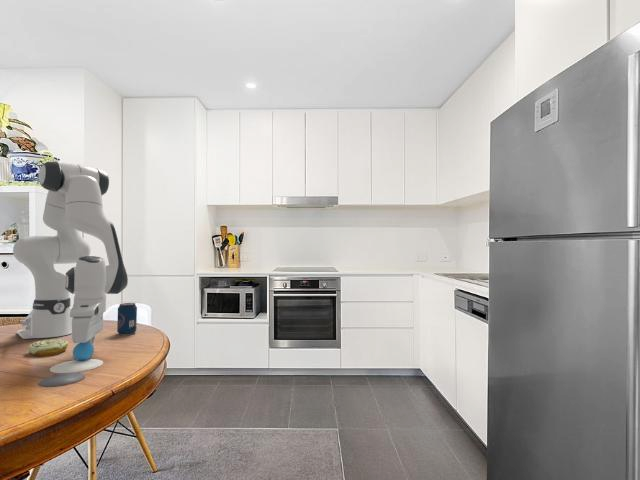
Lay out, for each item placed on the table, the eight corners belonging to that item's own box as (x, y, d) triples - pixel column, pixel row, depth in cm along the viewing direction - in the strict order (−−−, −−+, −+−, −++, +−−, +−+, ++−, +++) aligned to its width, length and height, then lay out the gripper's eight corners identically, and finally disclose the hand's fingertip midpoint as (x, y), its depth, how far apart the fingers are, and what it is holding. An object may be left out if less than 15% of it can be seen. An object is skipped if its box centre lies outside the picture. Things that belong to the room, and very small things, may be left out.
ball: (70, 345, 115) (66, 360, 111) (83, 335, 114) (79, 350, 110) (86, 351, 119) (83, 366, 115) (99, 342, 118) (96, 357, 114)
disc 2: (41, 367, 107) (41, 367, 107) (89, 357, 118) (89, 356, 118) (62, 376, 100) (62, 375, 100) (111, 364, 111) (111, 363, 111)
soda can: (113, 333, 151) (114, 304, 151) (130, 330, 156) (131, 302, 157) (123, 336, 147) (123, 305, 147) (139, 333, 153) (140, 303, 153)
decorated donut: (27, 359, 116) (27, 347, 116) (29, 351, 125) (29, 340, 125) (67, 354, 122) (67, 342, 122) (67, 347, 130) (67, 336, 131)
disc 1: (31, 381, 96) (31, 380, 96) (74, 371, 104) (74, 370, 104) (49, 389, 90) (49, 388, 90) (92, 378, 99) (92, 377, 99)
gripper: (88, 303, 129) (87, 343, 128) (67, 312, 109) (66, 360, 109) (108, 302, 131) (107, 342, 130) (92, 311, 111) (90, 358, 111)
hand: (88, 350), depth 119 cm, fingers closed
